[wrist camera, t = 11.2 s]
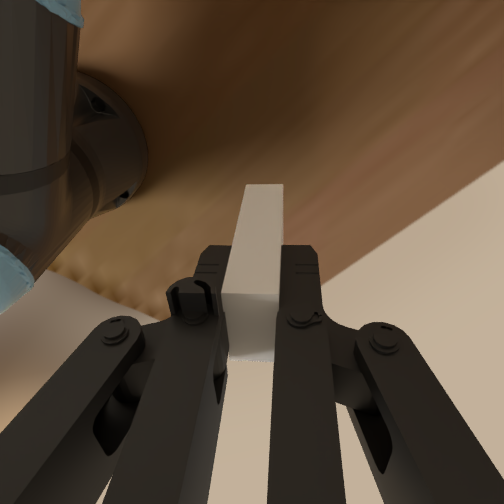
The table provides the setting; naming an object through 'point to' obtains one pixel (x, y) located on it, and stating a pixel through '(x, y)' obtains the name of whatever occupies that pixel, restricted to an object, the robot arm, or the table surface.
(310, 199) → the table surface
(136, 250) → the table surface
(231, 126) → the table surface
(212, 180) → the table surface
